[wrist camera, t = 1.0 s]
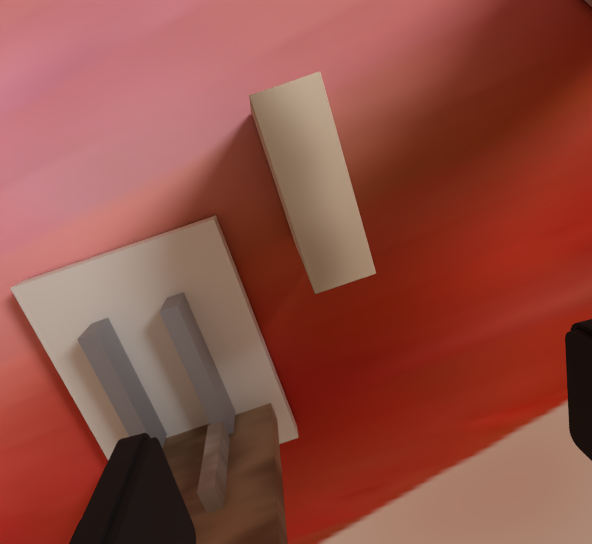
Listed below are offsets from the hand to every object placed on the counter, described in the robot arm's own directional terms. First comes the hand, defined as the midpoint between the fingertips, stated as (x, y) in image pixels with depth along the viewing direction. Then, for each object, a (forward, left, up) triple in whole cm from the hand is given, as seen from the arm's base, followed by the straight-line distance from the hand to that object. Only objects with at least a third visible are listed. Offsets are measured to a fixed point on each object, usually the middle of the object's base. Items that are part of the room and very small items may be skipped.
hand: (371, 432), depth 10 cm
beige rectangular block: (-1, -4, -22) cm, 22 cm away
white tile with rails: (+12, +6, -22) cm, 25 cm away
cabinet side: (+12, +11, -20) cm, 26 cm away
